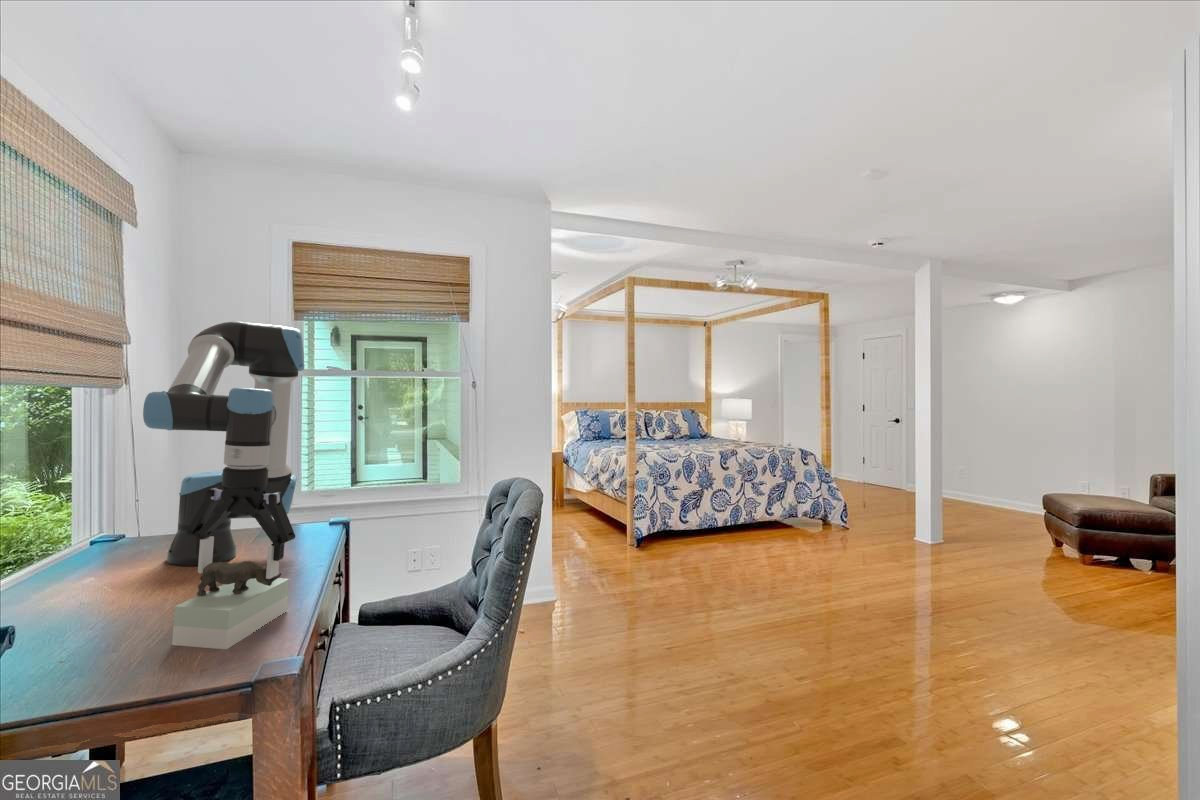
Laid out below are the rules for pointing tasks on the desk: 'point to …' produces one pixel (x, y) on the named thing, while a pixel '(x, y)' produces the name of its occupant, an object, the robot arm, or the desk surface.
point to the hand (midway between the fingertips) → (238, 574)
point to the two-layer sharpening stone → (228, 614)
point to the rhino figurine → (233, 576)
